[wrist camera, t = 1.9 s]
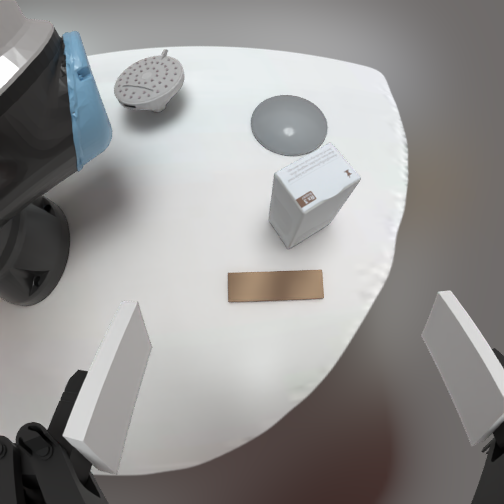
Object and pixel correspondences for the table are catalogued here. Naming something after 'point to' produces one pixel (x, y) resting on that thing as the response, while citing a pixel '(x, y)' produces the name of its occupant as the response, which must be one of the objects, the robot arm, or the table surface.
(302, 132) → the coaster
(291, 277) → the walnut board
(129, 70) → the showerhead
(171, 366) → the table surface
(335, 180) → the skincare box
